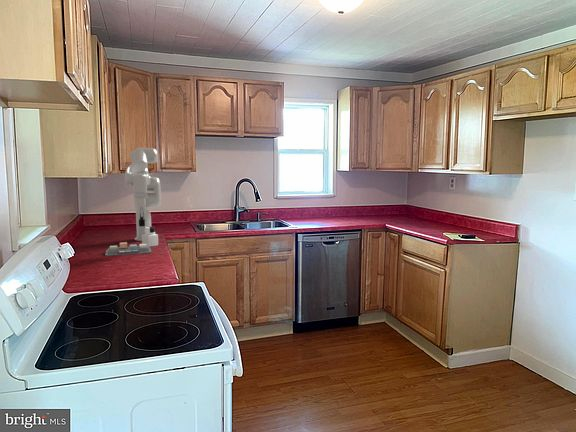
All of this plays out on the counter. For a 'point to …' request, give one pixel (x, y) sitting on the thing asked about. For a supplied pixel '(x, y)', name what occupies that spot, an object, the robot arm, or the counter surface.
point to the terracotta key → (123, 245)
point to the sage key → (113, 247)
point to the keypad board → (127, 251)
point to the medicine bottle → (150, 237)
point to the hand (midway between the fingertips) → (142, 226)
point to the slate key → (133, 246)
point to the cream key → (142, 245)
